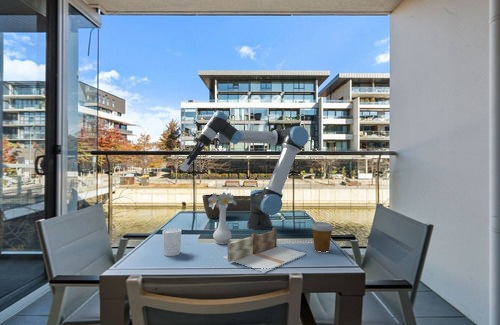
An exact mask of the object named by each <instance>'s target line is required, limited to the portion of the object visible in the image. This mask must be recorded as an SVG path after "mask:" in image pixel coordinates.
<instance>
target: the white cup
mask: <svg viewBox="0 0 500 325" xmlns="http://www.w3.org/2000/svg"><path fill="white" fill-rule="evenodd" d="M181 245H182V229H180V228H166V229H163V230H162V248H163V255H164V256H166V257H176V256H178V255H180V253H181V247H182V246H181Z"/></svg>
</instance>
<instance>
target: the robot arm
mask: <svg viewBox="0 0 500 325" xmlns="http://www.w3.org/2000/svg"><path fill="white" fill-rule="evenodd" d="M228 118H229V117H228V115H226V114H225V113H224V112H223V111H220V110H216V111H215V112H214V113H213V115H212V116H211V117H210V119H209V120H208V121H207V123H206V124H205V126H203V127H202V130H201V131H200V133H199V134H198V135H197V137H196V140H197V141H198V143H196V144H195V145H194V147H193V148H192V149H191V151H190V152H189V153H188V155H187V156H186V158H185V159H184V161H183V162H182V164H181V165H180V166H179V168H178V169H179V170H181V171H182V172H187V171H188V170H189V169H190V167H191V165H192V164H193V163H194V161H195V160H196V159H197V158H198V156H199V155H200V153H201V152H202V150H203V149H204V147H208V148H209V146H210V144H211V143H212V141H214V139H215V138H216V136H217V139H218V141H220V142H221V143H222V144H225V143H226V144H227V143H231V144H233V145H238V144H239V143H241V144H242V143H243V144H269V145H273V146H276V147H277V146H278V147H282V150H281V152H280V155H279V157H278V159H277V162H276V165H275V167H274V170H273V172H272V174H271V177H270V179H269V182H268V184H267V185H265V186H263V187H264V188H263V189H253V190H252V189H251V191H250V196H249V197H250V198H249V199H250V200H249V201H250V203H249V205H250V206H249V208H250V209H249V212H250V213H249V217H248V221H247V224H246V228H248V229H251V230H257V231H258V230H259V231H261V230H269V229H273V228H272V226H273V224H272V223H273V222H272V221H271V216H274V215H276V214H278V213H279V212H281V210H282V209H283V200H282V199H283V196H284V194H283V188H284V187H285V184H286V181H287V179H288V176H289V174H290V171H291V169H292V166H293V164H294V161H295V160H296V156H297V154H299V153H301V151H302V148H303V146H306V144H308V143H309V139H310V138H309V137H310V136H309V133H308V131H307V129H306V128H305V127H304V126H301V125H295V126H292V127H288V128H284V129H280V130H279V129H278V130H277V129H274V130H272V131H267V130H266V131H265V130H264V131H263V130H244V129H237V128H236V127H235V126H233V125H232V124H231V123H229V122H228Z"/></svg>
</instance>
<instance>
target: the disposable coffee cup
mask: <svg viewBox="0 0 500 325" xmlns="http://www.w3.org/2000/svg"><path fill="white" fill-rule="evenodd" d="M310 227H311V229H312V237H313V248H314V251H315V250H316V251H321V252H326V251H329V252H330V247H331V239H332V232H333V229H334V227H333V224H331V223H329V222H321V221H318V222H313V223H312V225H311V226H310ZM316 251H315V252H316Z"/></svg>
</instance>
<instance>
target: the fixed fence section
mask: <svg viewBox="0 0 500 325" xmlns="http://www.w3.org/2000/svg"><path fill="white" fill-rule="evenodd" d="M277 235H278V228H277V227H273V228H272V230H270V231H267V232H263V233H261V234H259V233H258V234H257V233H255V232H253V233H251V237H253V254H256V253H259V252H261V251H264V250H267V249H270V248H273V247H276V246H278V242H277V240H278V236H277Z"/></svg>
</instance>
